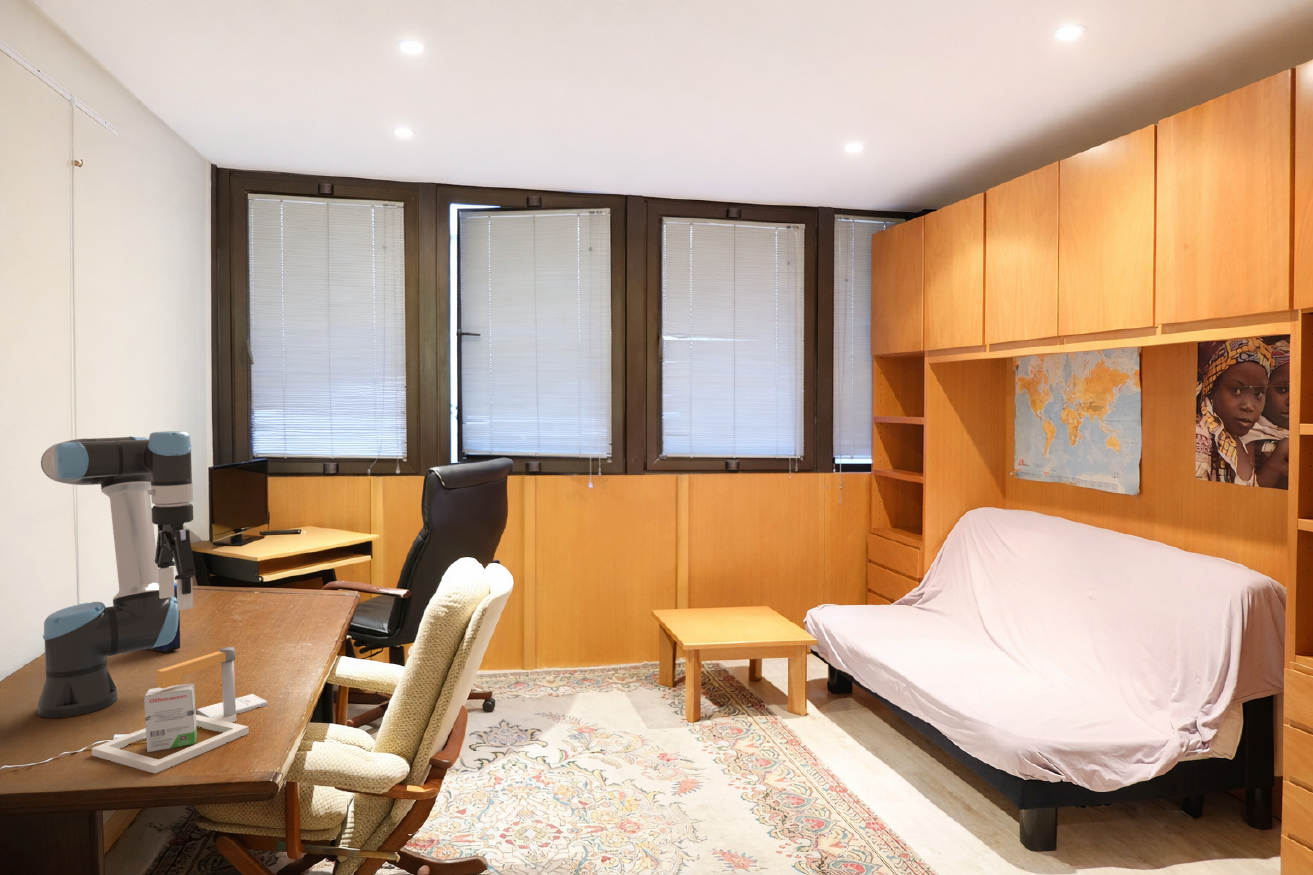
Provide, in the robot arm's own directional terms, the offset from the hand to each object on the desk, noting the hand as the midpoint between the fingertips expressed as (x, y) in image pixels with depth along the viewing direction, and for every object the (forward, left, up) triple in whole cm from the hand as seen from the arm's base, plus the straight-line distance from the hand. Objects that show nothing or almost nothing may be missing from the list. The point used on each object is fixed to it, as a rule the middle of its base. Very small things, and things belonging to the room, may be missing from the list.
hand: (176, 603), depth 168 cm
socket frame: (+4, -3, -28) cm, 28 cm away
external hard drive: (-2, +13, -29) cm, 32 cm away
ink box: (+4, -5, -28) cm, 29 cm away
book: (-64, +36, -28) cm, 79 cm away
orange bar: (+4, +2, -15) cm, 16 cm away
